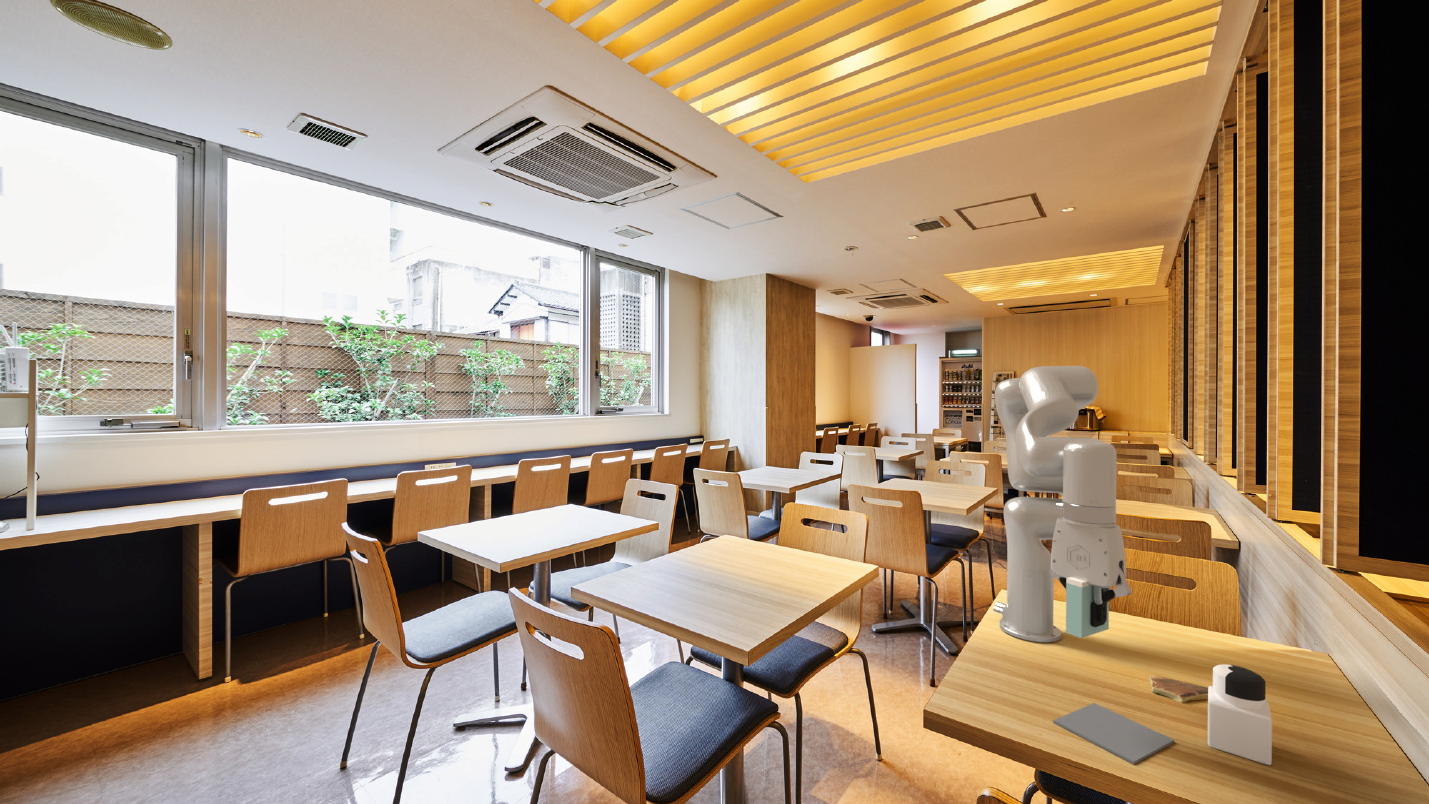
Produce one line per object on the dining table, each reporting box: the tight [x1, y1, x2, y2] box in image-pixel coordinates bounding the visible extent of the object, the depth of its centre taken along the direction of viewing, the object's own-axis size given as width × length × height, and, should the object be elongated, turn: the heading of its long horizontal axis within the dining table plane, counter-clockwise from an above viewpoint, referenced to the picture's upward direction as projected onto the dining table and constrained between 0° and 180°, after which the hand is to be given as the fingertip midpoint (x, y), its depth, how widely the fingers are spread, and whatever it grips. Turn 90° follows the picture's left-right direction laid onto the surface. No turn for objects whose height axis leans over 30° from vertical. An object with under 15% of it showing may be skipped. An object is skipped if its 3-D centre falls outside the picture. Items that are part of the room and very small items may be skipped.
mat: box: [1052, 702, 1175, 765], centre depth 91 cm, size 12×12×1 cm
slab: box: [1065, 577, 1110, 639], centre depth 94 cm, size 2×8×9 cm, turn 117°
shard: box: [1149, 675, 1209, 704], centre depth 102 cm, size 11×8×2 cm
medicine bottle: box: [1207, 664, 1273, 766], centre depth 88 cm, size 7×7×12 cm
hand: (1087, 621), depth 94 cm, fingers closed on slab, 2 cm apart
